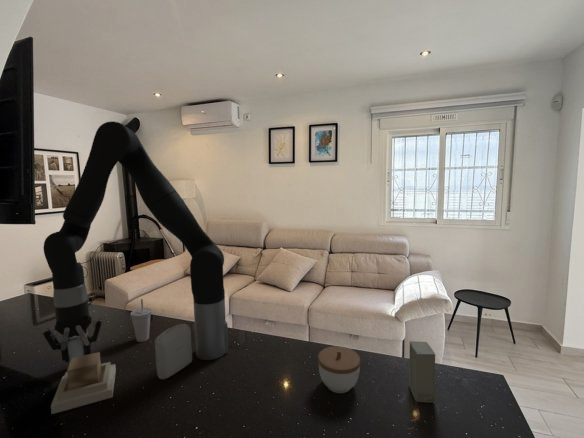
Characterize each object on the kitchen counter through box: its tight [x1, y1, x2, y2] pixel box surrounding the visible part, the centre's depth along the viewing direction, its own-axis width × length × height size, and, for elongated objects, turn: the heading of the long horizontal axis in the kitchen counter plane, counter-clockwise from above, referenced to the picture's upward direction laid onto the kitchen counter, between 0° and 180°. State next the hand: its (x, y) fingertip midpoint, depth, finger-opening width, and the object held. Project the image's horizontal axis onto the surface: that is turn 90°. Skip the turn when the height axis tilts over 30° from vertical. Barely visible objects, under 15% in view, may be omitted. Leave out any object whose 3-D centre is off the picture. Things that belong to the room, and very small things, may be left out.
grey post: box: [67, 336, 85, 366], centre depth 86 cm, size 4×4×7 cm
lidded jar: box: [317, 345, 361, 394], centre depth 77 cm, size 11×11×9 cm
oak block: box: [66, 351, 102, 390], centre depth 76 cm, size 6×6×6 cm
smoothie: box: [130, 298, 153, 343], centre depth 101 cm, size 6×6×14 cm
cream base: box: [50, 361, 117, 415], centre depth 76 cm, size 12×12×4 cm
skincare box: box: [408, 340, 436, 404], centre depth 74 cm, size 6×4×12 cm
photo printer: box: [154, 323, 193, 380], centre depth 84 cm, size 10×4×12 cm, turn 149°
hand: (77, 358), depth 86 cm, fingers closed on grey post, 4 cm apart
